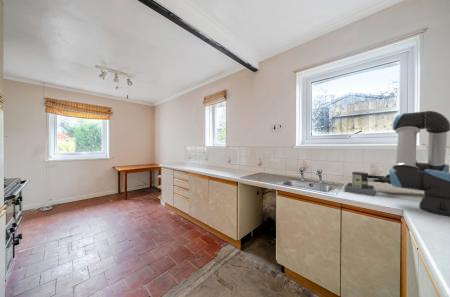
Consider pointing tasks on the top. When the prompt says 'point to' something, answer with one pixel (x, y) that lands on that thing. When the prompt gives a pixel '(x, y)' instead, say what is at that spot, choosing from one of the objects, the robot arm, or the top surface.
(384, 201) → the top surface
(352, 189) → the tray
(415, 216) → the top surface
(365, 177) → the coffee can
